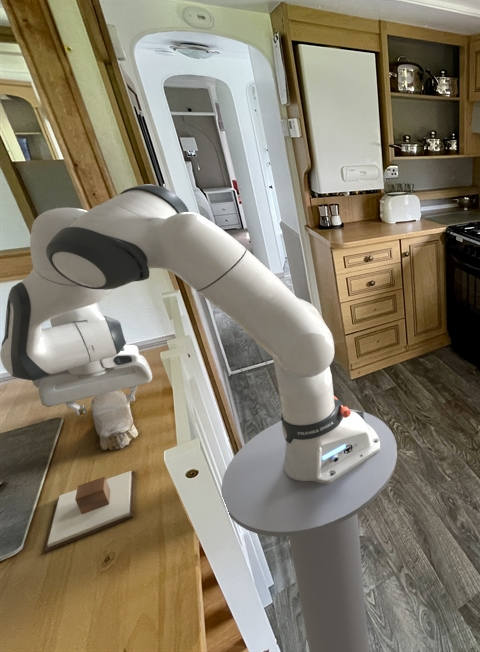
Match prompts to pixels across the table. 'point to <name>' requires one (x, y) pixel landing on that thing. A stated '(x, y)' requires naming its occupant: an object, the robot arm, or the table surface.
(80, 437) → the table surface
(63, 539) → the tile
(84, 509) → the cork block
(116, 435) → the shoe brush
